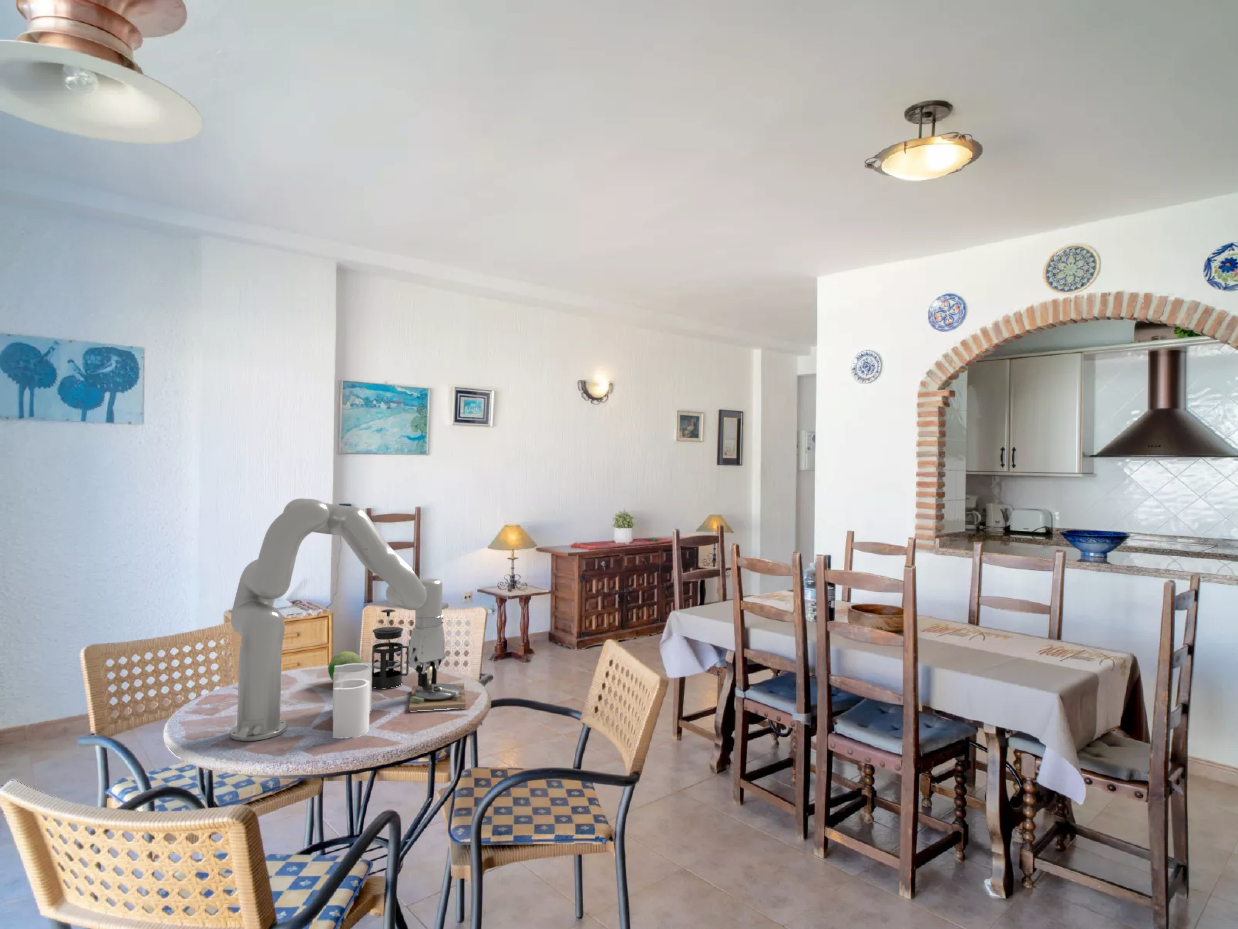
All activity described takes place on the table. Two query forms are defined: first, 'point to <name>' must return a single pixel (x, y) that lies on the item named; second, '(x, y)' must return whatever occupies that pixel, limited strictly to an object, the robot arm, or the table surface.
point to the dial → (437, 689)
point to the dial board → (437, 701)
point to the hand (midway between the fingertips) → (427, 684)
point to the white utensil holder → (351, 699)
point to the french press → (388, 657)
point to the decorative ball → (343, 660)
